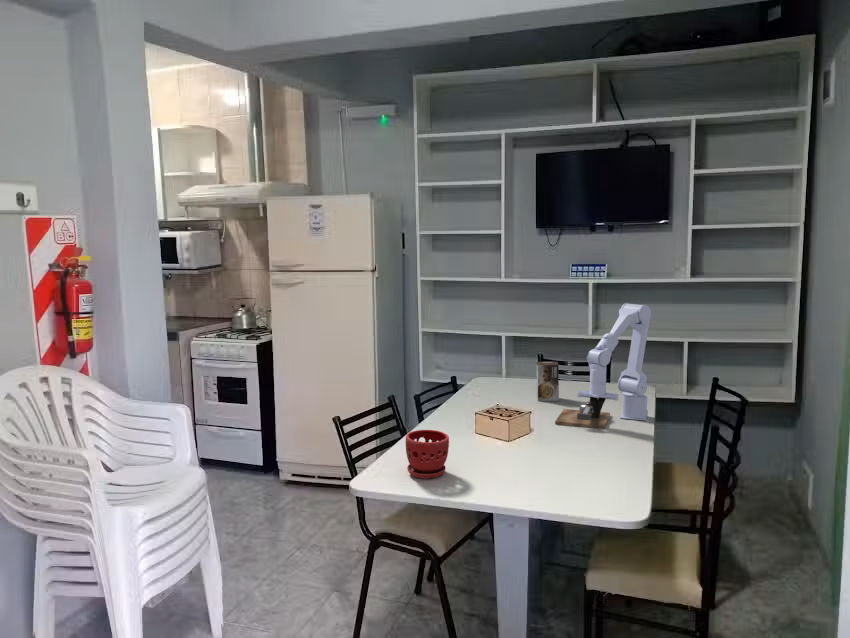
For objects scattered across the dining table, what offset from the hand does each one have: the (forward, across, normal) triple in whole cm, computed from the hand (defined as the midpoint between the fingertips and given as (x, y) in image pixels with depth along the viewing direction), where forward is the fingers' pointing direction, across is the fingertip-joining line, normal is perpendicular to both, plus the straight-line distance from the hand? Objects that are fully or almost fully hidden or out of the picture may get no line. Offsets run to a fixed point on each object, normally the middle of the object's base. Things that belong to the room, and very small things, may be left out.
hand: (597, 417), depth 231 cm
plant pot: (+4, -42, -64) cm, 76 cm away
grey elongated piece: (+2, -4, +4) cm, 6 cm away
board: (+3, -6, +6) cm, 9 cm away
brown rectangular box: (+4, -25, +32) cm, 41 cm away
